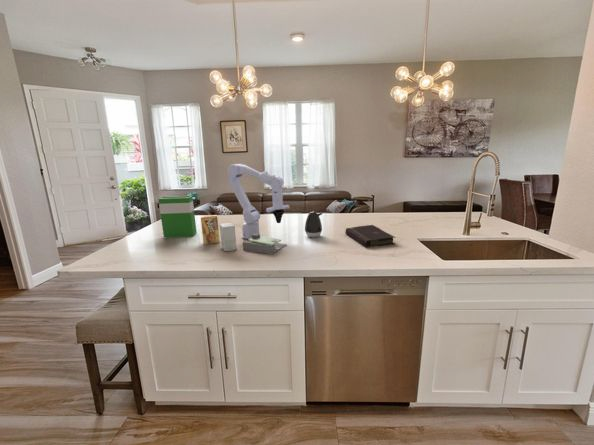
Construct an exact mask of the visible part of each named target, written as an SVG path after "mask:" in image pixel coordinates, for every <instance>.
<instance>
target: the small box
mask: <svg viewBox="0 0 594 445" xmlns="http://www.w3.org/2000/svg"><path fill="white" fill-rule="evenodd" d="M219 232H220V233H219V234H220V240H221V242H220V243H221V248H222V250H223V251H224V252H229V251H235V250H237V239H236V238H237V237H236V226H235V225H234V224H233V223H232V222H227V223H226V222H225V223H224V222H223V223H219Z"/></svg>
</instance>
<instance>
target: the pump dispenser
mask: <svg viewBox="0 0 594 445" xmlns="http://www.w3.org/2000/svg"><path fill="white" fill-rule="evenodd" d="M321 215H323V212H319V213H318V212H317V211H313V210H312V211H310V212H309V213H308V215H307V217H306V220H305V224H304V232H305V234H306V236H308V237H309V238H318V237H320V236H321V233H322V232H323V226H322V225H323V224H322V221H321V218H320V216H321Z"/></svg>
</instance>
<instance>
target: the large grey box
mask: <svg viewBox="0 0 594 445" xmlns="http://www.w3.org/2000/svg"><path fill="white" fill-rule="evenodd" d="M284 247H287V243H280V242H278V243H276V244H274V245H265V244H258V243H251V242H249V241H242V250H245V251H250V252H256V253H261V254H262V253H263V254H268V255H273V254H275V253H277V252H278V251H281V249H283V248H284Z"/></svg>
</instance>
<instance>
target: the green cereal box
mask: <svg viewBox="0 0 594 445" xmlns="http://www.w3.org/2000/svg"><path fill="white" fill-rule="evenodd" d="M157 201H158V206H159V212H160V213H159V214H160V220H161V221H160V222H161V227H162V235H163V238H164V237H172V238H188V237H189V238H193V237H195V236H196V235H197V233H198V232H197V223H196V222H197V221H196V217H195V216H196V215H195V207H194V198H193V195H179V196H178V195H177V196H175V195H174V196H171V195H170V196H162V198H158V200H157Z"/></svg>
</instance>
